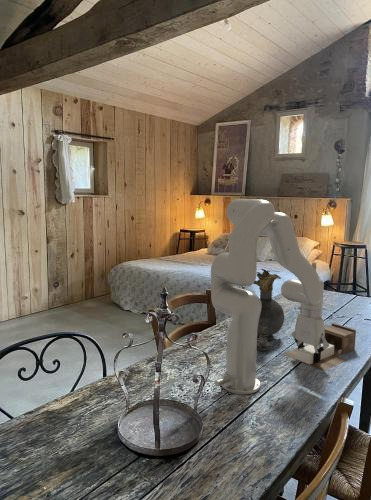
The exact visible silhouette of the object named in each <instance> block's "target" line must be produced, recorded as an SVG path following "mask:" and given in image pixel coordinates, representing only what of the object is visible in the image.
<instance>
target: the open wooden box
mask: <svg viewBox="0 0 371 500" xmlns="http://www.w3.org/2000/svg"><path fill="white" fill-rule="evenodd" d="M324 329H325V339H326V341H327V342H328V344H331V345H334V355H331V356H329V357H326V358H324V359H322V360H320V362H318V363H312V364H310V365H309V364H307V363H305V362H302V361H300V360H297V359H296V350H297V349H298V347H297V348H295V349H292V350H289V351H287V352H284V353H282V355H284V356H286V357H288V358H290V359H294V360H296V361H298V362H301V363H303V364H305V365H308V366H310V367H312V368H314V369H317V370H319V371H323V372H324V371H325V372H326V371H327V370H328V369H331V368H333V367H336V366H337V365H338V366H339V365H340V364H342V363H344V362H347V361H348V359H345V358H342V357H341V356H342V355H345V354H347V353H350V352H352V351H354V350H355V348H356V346H355V345H356V334H357V330H356V329H355V328H352V327H348V326H344V325H341V324H338V323H334V322H332V323H331V325H329V326H325V327H324ZM304 345H305V344H304ZM308 345H309V344H306V345H305V346H308Z"/></svg>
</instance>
